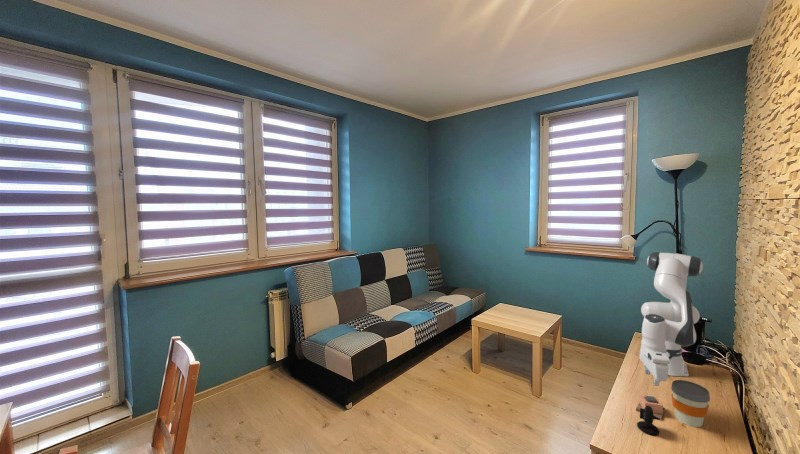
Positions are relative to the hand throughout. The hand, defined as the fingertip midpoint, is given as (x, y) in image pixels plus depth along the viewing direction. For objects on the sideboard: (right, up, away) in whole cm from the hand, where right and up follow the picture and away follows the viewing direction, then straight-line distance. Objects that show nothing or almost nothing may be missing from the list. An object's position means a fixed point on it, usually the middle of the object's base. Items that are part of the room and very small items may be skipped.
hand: (651, 379), depth 145 cm
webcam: (-11, -16, -11) cm, 22 cm away
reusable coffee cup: (+12, -15, -6) cm, 20 cm away
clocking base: (0, -15, +1) cm, 15 cm away
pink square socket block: (0, -14, +1) cm, 14 cm away
